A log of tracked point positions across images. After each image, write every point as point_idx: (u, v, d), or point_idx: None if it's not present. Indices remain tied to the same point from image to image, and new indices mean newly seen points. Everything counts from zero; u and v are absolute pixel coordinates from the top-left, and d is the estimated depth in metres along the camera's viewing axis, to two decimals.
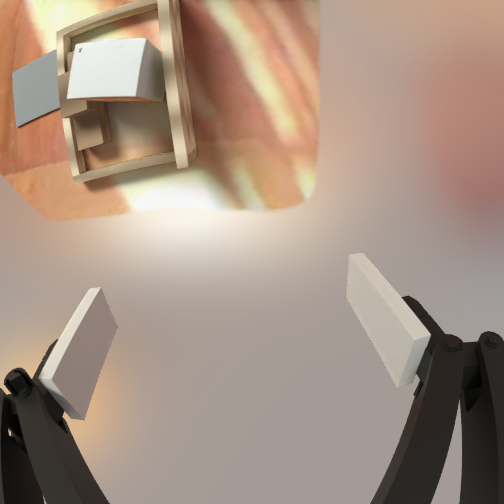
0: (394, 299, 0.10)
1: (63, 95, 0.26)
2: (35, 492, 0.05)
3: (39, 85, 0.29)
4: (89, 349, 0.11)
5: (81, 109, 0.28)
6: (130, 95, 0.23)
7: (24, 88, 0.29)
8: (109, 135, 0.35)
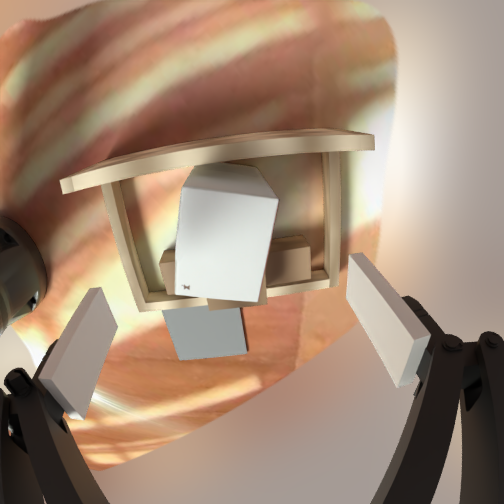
0: (394, 299, 0.10)
1: (237, 302, 0.29)
2: (35, 492, 0.05)
3: (204, 327, 0.38)
4: (89, 349, 0.11)
5: None
6: (275, 207, 0.18)
7: (203, 345, 0.39)
8: (296, 237, 0.33)
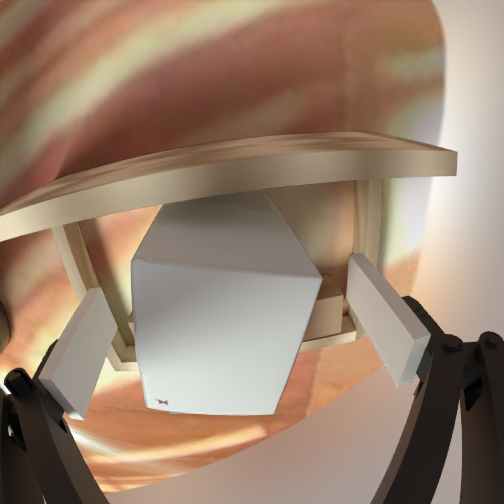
0: (394, 299, 0.10)
1: None
2: (35, 492, 0.05)
3: None
4: (89, 349, 0.11)
5: None
6: (315, 292, 0.10)
7: None
8: None
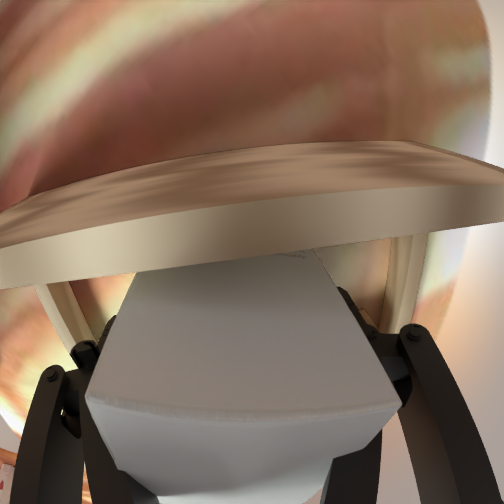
0: None
1: None
2: (75, 479, 0.06)
3: None
4: None
5: None
6: (387, 419, 0.05)
7: None
8: None
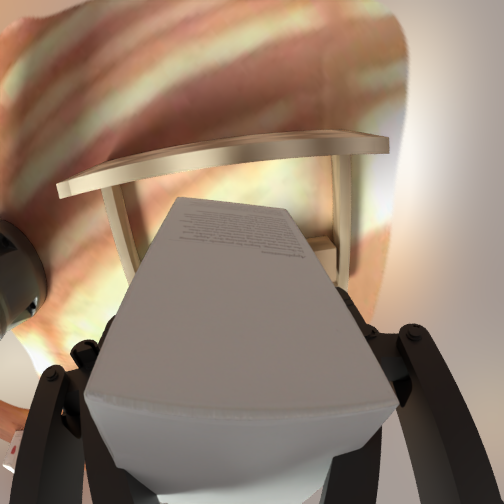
0: None
1: None
2: (75, 479, 0.06)
3: None
4: None
5: None
6: (384, 419, 0.05)
7: None
8: (320, 238, 0.32)
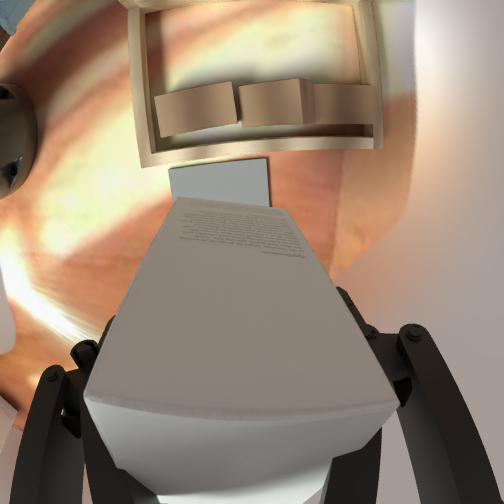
0: None
1: (270, 117, 0.23)
2: (75, 479, 0.06)
3: None
4: None
5: (297, 87, 0.21)
6: (385, 419, 0.05)
7: None
8: None
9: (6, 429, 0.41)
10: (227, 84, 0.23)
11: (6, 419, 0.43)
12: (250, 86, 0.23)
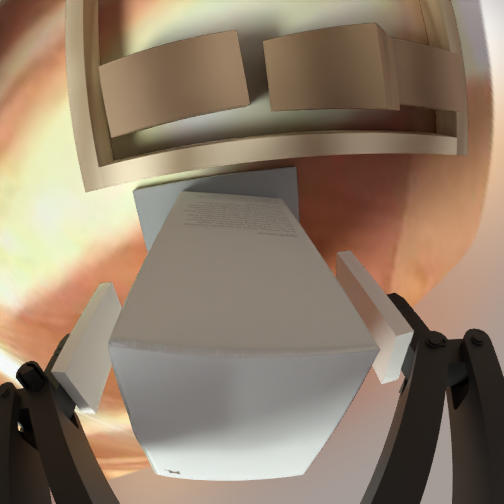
0: (379, 296, 0.11)
1: (321, 93, 0.12)
2: (42, 489, 0.05)
3: None
4: (101, 342, 0.12)
5: (373, 38, 0.09)
6: (368, 365, 0.06)
7: None
8: None
9: None
10: (229, 35, 0.11)
11: None
12: (285, 39, 0.11)
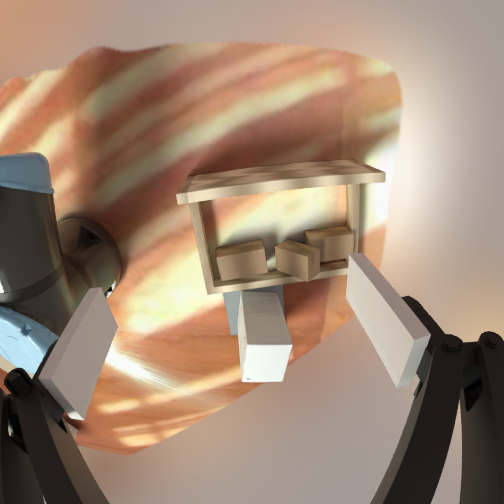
0: (394, 299, 0.10)
1: (291, 271, 0.43)
2: (35, 492, 0.05)
3: None
4: (89, 349, 0.11)
5: (306, 261, 0.40)
6: (291, 347, 0.38)
7: None
8: (342, 227, 0.45)
9: None
10: (261, 250, 0.42)
11: None
12: (281, 249, 0.43)
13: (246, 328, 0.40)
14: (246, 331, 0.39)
